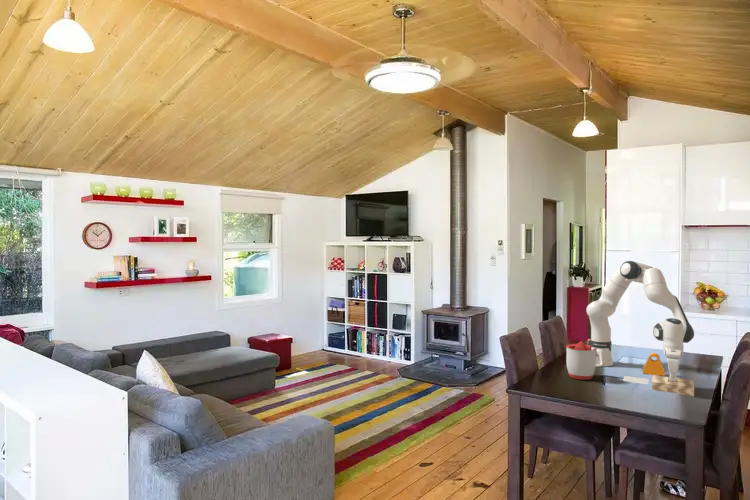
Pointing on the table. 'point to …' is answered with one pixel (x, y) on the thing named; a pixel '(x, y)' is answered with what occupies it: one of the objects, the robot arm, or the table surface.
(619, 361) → the table surface
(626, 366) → the table surface
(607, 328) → the robot arm
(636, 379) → the rubber mat
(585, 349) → the citrus juicer
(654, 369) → the bracket
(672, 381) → the steel pin
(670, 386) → the oak hole block
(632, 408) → the table surface
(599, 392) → the table surface
